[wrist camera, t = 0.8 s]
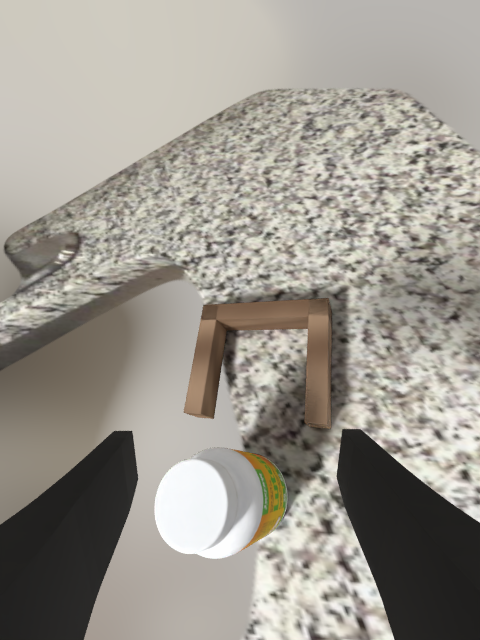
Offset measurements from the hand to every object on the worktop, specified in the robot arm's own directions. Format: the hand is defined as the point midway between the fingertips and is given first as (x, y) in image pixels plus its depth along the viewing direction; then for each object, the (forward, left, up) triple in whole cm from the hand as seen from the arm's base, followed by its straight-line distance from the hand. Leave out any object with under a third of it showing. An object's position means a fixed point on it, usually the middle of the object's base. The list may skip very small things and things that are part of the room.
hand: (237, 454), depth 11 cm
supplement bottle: (-2, +4, -14) cm, 15 cm away
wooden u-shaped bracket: (+7, +4, -14) cm, 16 cm away
